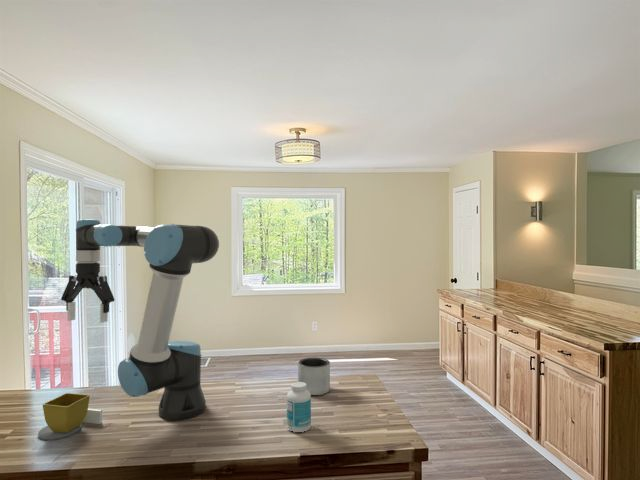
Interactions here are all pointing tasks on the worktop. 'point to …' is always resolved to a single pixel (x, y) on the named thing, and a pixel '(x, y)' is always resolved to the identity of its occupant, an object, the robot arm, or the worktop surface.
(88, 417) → the wall
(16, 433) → the worktop surface
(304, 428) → the pill bottle
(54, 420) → the flower pot
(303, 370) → the planter
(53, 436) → the coaster
